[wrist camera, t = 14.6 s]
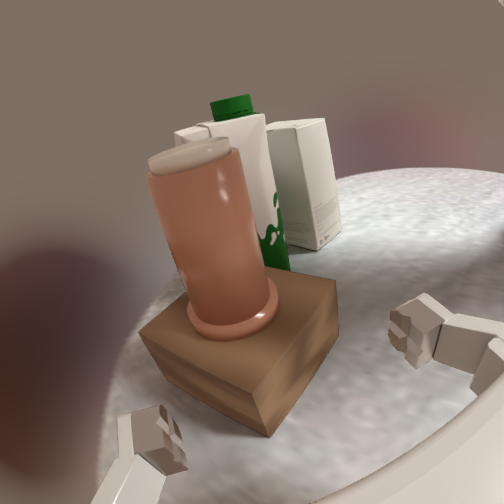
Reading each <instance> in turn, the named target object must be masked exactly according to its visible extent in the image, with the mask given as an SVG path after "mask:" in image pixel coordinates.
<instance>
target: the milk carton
mask: <svg viewBox="0 0 504 504" xmlns="http://www.w3.org/2000/svg"><path fill="white" fill-rule="evenodd" d="M210 105H211V109H212V114H213V117H214V120H212V121H208V122H202V123H199V124H196V126H194V127H190V128H187V129H183V130H180V131H177V132H174V136H175V142H176V147H177V146H180V145H183V144H187V143H190V142H194V141H198V140H202V139H207V138H213V137H229V141H230V146H231V147H235V148H238V149H239V153H240V158H241V162H242V166H243V171H244V175H245V180H246V184H247V188H248V193H249V197H250V202H251V206H252V211H253V215H254V220H255V224H256V229H257V233H258V238H259V242H260V247H261V251H262V256H263V260H264V265H265V266H266V267H271V268H276V269H281V270H286V271H290V265H289V259H288V252H287V245H286V239H285V233H284V227H283V222H282V217H281V211H280V206H279V201H278V196H277V190H276V185H275V180H274V175H273V170H272V165H271V160H270V155H269V149H268V141H267V132H266V124H265V115H264V114H260V113H256V112H253V107H252V103H251V98H250V95H249V94H246V95H241V96H237V97H232V98H228V99H223V100H219V101H215V102H211V103H210Z"/></svg>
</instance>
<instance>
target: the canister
mask: <svg viewBox="0 0 504 504" xmlns="http://www.w3.org/2000/svg"><path fill="white" fill-rule="evenodd" d="M148 164H149V167H150V171H149V172H148V173H147V174H146V175H145V178H146V181H147V184H148V187H149V190H150V193H151V196H152V199H153V202H154V205H155V208H156V211H157V214H158V217H159V220H160V223H161V225H162V228H163V231H164V234H165V237H166V240H167V242H168V245H169V248H170V251H171V253H172V256H173V259H174V261H175V264H176V267H177V269H178V272H179V274H180V277H181V280H182V282H183V285H184V287H185V290H186V292H187V295H188V297H189V303H188V307H187V312H188V316H189V318H190V321H191V323H192V325H193V327H194V329H195V331H196V332H197V333H198V334H200V335H201V336H203V337H204V338H207V339H209V340H213V341H220V342H229V341H236V340H241V339H244V338H248V337H250V336H252V335H254V334H256V333H258V332H260V331H261V330H263V329H264V328H266V327H267V326H268V325H269V324H270V323H271V322H272V321H273V319H274V318H275V317H276V315H277V313H278V310H279V305H280V303H279V296H278V291H277V287H276V285H275V283H274V282H273V281H272V280H271V279H270V278H269V277H267V274H266V270H265V265H264V260H263V256H262V251H261V247H260V242H259V238H258V233H257V229H256V224H255V220H254V215H253V211H252V206H251V202H250V197H249V193H248V188H247V184H246V180H245V175H244V171H243V166H242V162H241V158H240V153H239V149H238V148H235V147H231V146H230V141H229V137H213V138H207V139H202V140H198V141H194V142H190V143H187V144H183V145H180V146H177V147H174V148H171V149H169V150H166V151H164V152H161V153H159V154H157V155H155V156H153V157H151V158H150V159H149V160H148Z"/></svg>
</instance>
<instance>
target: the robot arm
mask: <svg viewBox="0 0 504 504" xmlns="http://www.w3.org/2000/svg"><path fill="white" fill-rule="evenodd" d="M498 1H499V2H500V3H501V4H502V5H503V6H504V0H498ZM390 320H391V321H393V322H392V324H391V325H390V327H389V334H388V335H389V338H390V341H391V343H392V345H393V346H394V347H395V348H396V349H397V351H401V352H405V359H406V360H407V361H408V362H409V363H410V364H411V365H412V366H413V367H414V368H415V369H417V368H419V367H420V366H422V365H424V364H425V363H427V362H428V361H430V360H431V359H433V360H435V361H438V362H441V363H443V364H446V365H449V366H451V367H454V368H457V369H460V370H463V371H465V372H468V373H471V374H474V377H473V379H472V381H471V383H470V388H471V390H472V391H473V392H474V393H475V394H476V395H477V396H478V397H477V398H476V399H475V400H474V401H472V402H471V403H470V404H469V405H468V406H467V407H466V408H464V409H463V410H462V411H461V412H460V413H458V414H457V415H456V416H455V417H454V418H452V419H451V420H450V421H449V422H447V423H446V424H445V425H443V426H442V427H441V428H440V429H438V430H437V431H436V432H434V433H433V434H432V435H430V436H429V437H428V438H426V439H425V440H423V441H422V442H420V443H419V444H418V445H416V446H415V447H413V448H412V449H410V450H409V451H407V452H406V453H404V454H403V455H401V456H400V457H398V458H396V459H395V460H393V461H392V462H390V463H388V464H387V465H385V466H383V467H382V468H380V469H378V470H377V471H375V472H373V473H371V474H370V475H368V476H366V477H364V478H362V479H360V480H358V481H357V482H355V483H353V484H351V485H349V486H347V487H345V488H343V489H341V490H339V491H337V492H335V493H332V494H330V495H328V496H326V497H324V498H322V499H319V500H317V501H315V502H312V503H310V504H504V322H499V321H494V320H489V319H484V318H479V317H474V316H469V315H464V314H459V313H457V314H455V315H454V314H453V313H452V312H450V311H449V310H448V309H446V308H445V307H444V306H443V305H441V304H440V303H439V302H437V301H436V300H435V299H434V298H432V297H431V296H430V295H428V294H427V293H422V294H420V295H419V296H417V297H415V298H413V299H411V300H409V301H408V302H406V303H404V304H402V305H401V306H399V307H397V308H395V309H394V310H392V312H391V313H390ZM117 436H118V453H119V458H115V459H114V461H113V463H112V465H111V467H110V469H109V470H108V472H107V474H106V476H105V478H104V480H103V481H102V483H101V485H100V487H99V489H98V491H97V493H96V494H95V496H94V498H93V500H92V502H91V504H157V503H158V500H159V497H160V494H161V491H162V488H163V485H164V482H165V479H166V476H167V475H171V474H175V473H179V472H182V471H186V470H189V468H188V463H187V459H186V455H185V452H184V451H183V450H182V449H181V448H180V446H181V444H182V437H181V434H180V431H179V428H178V426H177V424H176V423H175V421H174V420H173V418H172V417H169V416H167V412H166V409H165V408H164V407H163V406H162V405H159V406H155V407H151V408H147V409H143V410H139V411H134V412H130V413H126V414H122V415H118V418H117Z"/></svg>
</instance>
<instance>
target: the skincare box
mask: <svg viewBox="0 0 504 504" xmlns="http://www.w3.org/2000/svg"><path fill="white" fill-rule="evenodd" d="M326 129H327V128H326V124H325V119H324V118H317V119H303V120H292V121H282V122H275V123H271V124H268V125H266V132H267V141H268V149H269V155H270V160H271V165H272V170H273V175H274V180H275V185H276V190H277V196H278V201H279V206H280V211H281V217H282V222H283V227H284V233H285V239H286V243H288V244H292V245H296V246H300V247H304V248H307V249H311V250H315V251H318V250H319V249H321V248H322V247H323V246H324V245H325V244H327V243H328V242H329V241H330V240H331V239H332V238H334V237H335V236H336V235H337V234H338V233H339V232H340V231H341V230H342V223H341V215H340V207H339V200H338V193H337V186H336V180H335V175H334V168H333V162H332V156H331V150H330V145H329V139H328V134H327V130H326Z"/></svg>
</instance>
